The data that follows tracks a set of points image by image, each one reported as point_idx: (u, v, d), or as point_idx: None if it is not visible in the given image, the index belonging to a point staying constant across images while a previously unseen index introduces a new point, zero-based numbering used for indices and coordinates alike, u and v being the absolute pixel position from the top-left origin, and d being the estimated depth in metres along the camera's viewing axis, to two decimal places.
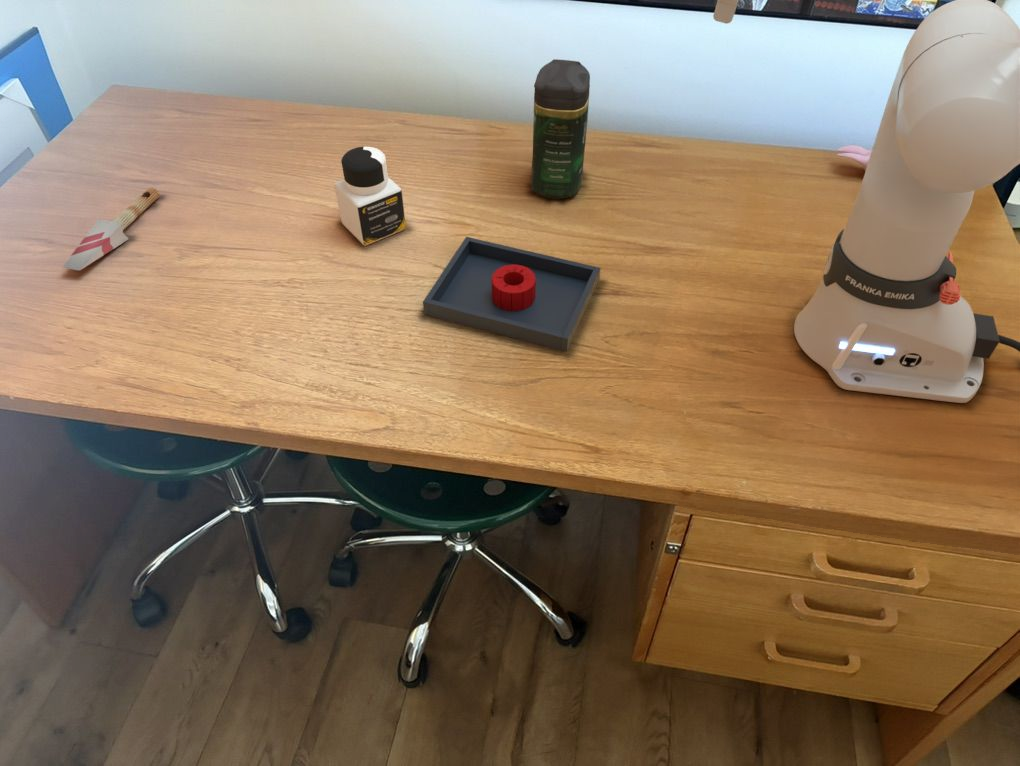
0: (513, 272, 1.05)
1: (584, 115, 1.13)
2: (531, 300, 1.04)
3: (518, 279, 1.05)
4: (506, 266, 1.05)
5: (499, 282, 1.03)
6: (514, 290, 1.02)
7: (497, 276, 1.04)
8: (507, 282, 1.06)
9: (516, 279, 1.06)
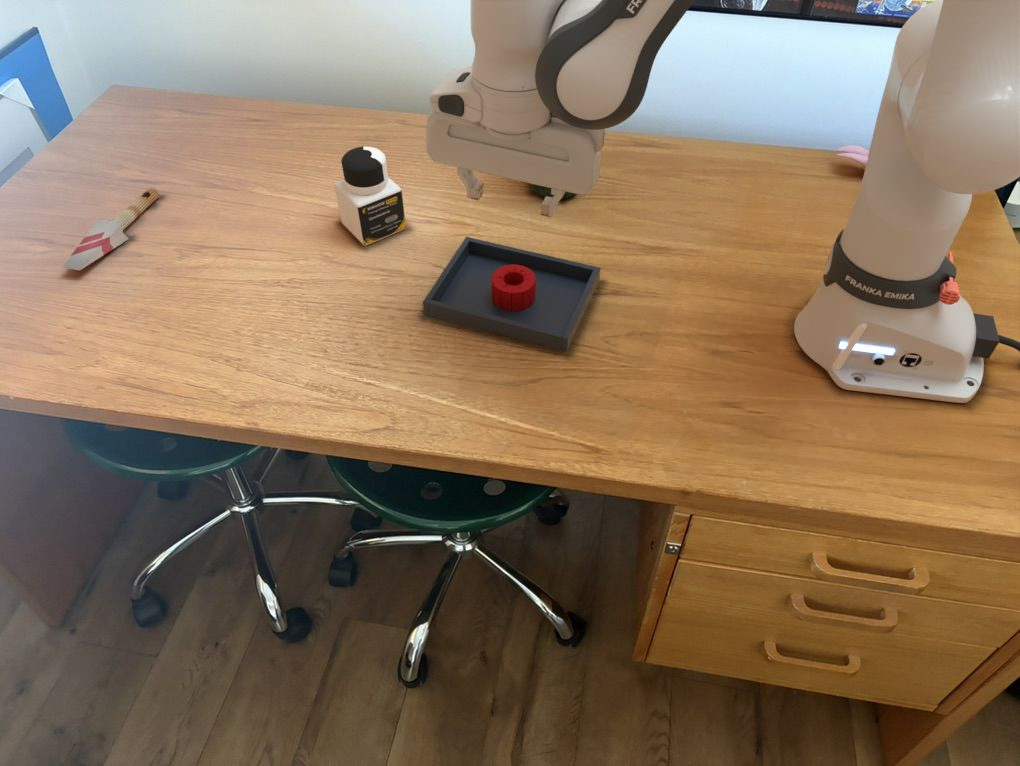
0: (513, 272, 1.05)
1: None
2: (531, 300, 1.04)
3: (518, 279, 1.05)
4: (506, 266, 1.05)
5: (499, 282, 1.03)
6: (514, 290, 1.02)
7: (497, 276, 1.04)
8: (507, 282, 1.06)
9: (516, 279, 1.06)
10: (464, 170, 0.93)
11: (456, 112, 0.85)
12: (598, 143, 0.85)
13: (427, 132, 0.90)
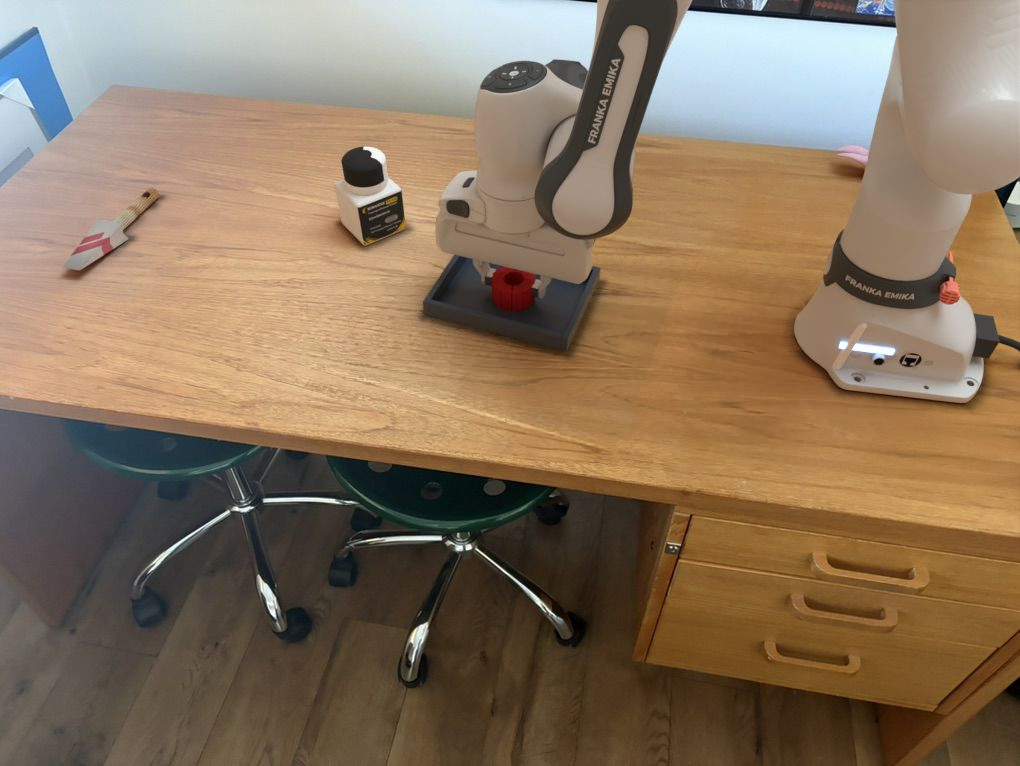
0: (513, 272, 1.05)
1: None
2: (531, 300, 1.04)
3: (518, 279, 1.05)
4: None
5: (499, 282, 1.03)
6: (514, 290, 1.02)
7: (497, 276, 1.04)
8: (507, 282, 1.06)
9: (516, 279, 1.06)
10: (479, 261, 1.02)
11: (462, 214, 0.95)
12: (590, 241, 0.95)
13: (436, 228, 0.99)
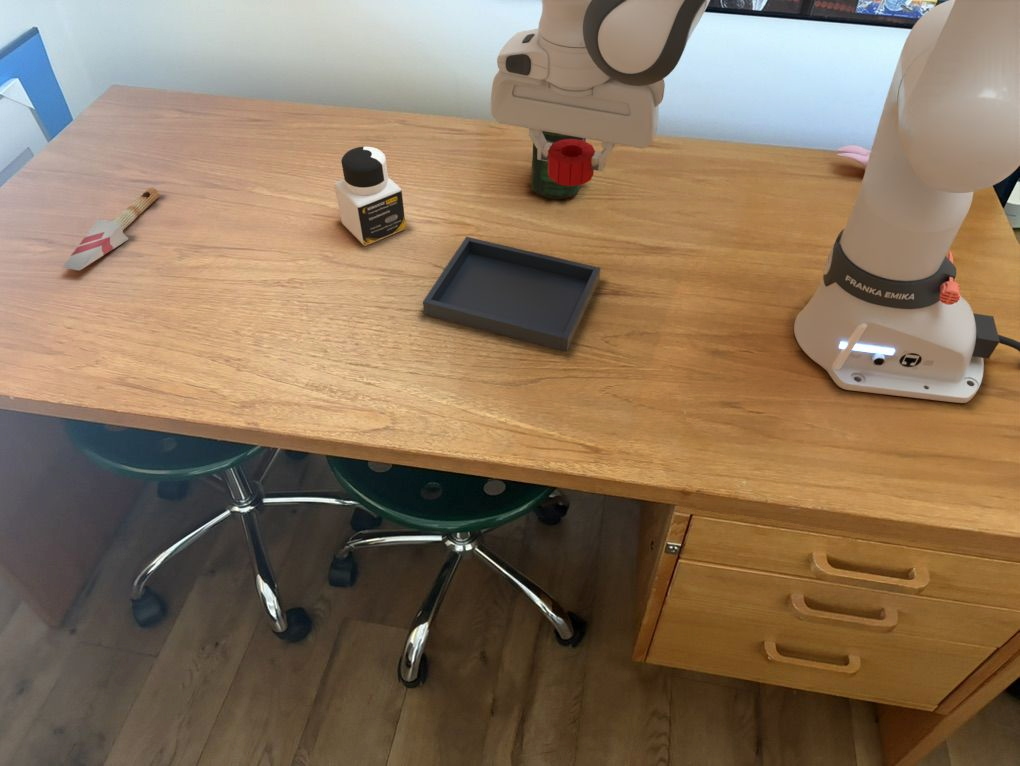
0: (570, 146, 1.00)
1: None
2: (590, 174, 1.00)
3: (575, 154, 1.01)
4: (562, 140, 1.01)
5: (557, 154, 0.98)
6: (573, 161, 0.97)
7: (554, 149, 0.99)
8: None
9: (573, 154, 1.01)
10: (536, 131, 0.98)
11: (523, 71, 0.90)
12: (658, 97, 0.90)
13: (492, 93, 0.95)
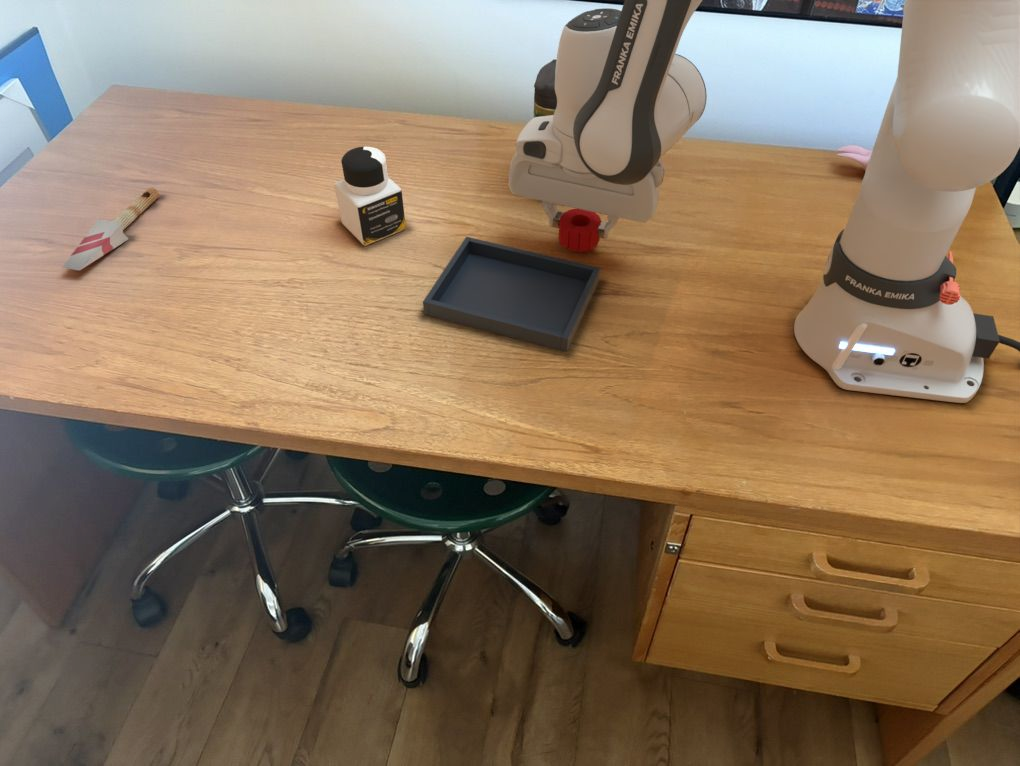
0: (579, 215, 1.11)
1: None
2: (596, 241, 1.11)
3: (583, 222, 1.12)
4: (572, 209, 1.12)
5: (567, 223, 1.10)
6: (582, 230, 1.09)
7: (564, 219, 1.10)
8: (573, 225, 1.12)
9: (582, 222, 1.12)
10: (548, 203, 1.09)
11: (538, 155, 1.01)
12: (658, 180, 1.01)
13: (510, 170, 1.06)
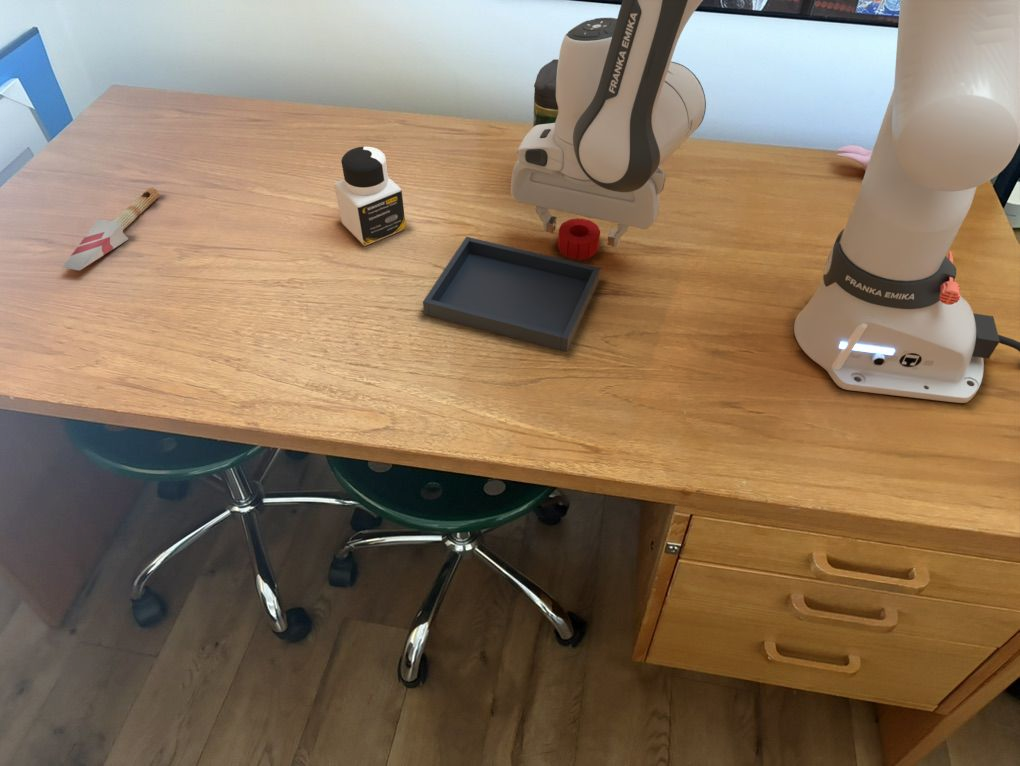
0: (578, 225, 1.13)
1: None
2: (595, 251, 1.12)
3: (583, 232, 1.13)
4: (571, 220, 1.13)
5: (566, 234, 1.11)
6: (581, 241, 1.10)
7: (564, 229, 1.12)
8: (572, 235, 1.13)
9: (581, 232, 1.13)
10: (542, 208, 1.10)
11: (540, 163, 1.02)
12: (659, 187, 1.02)
13: (513, 178, 1.07)
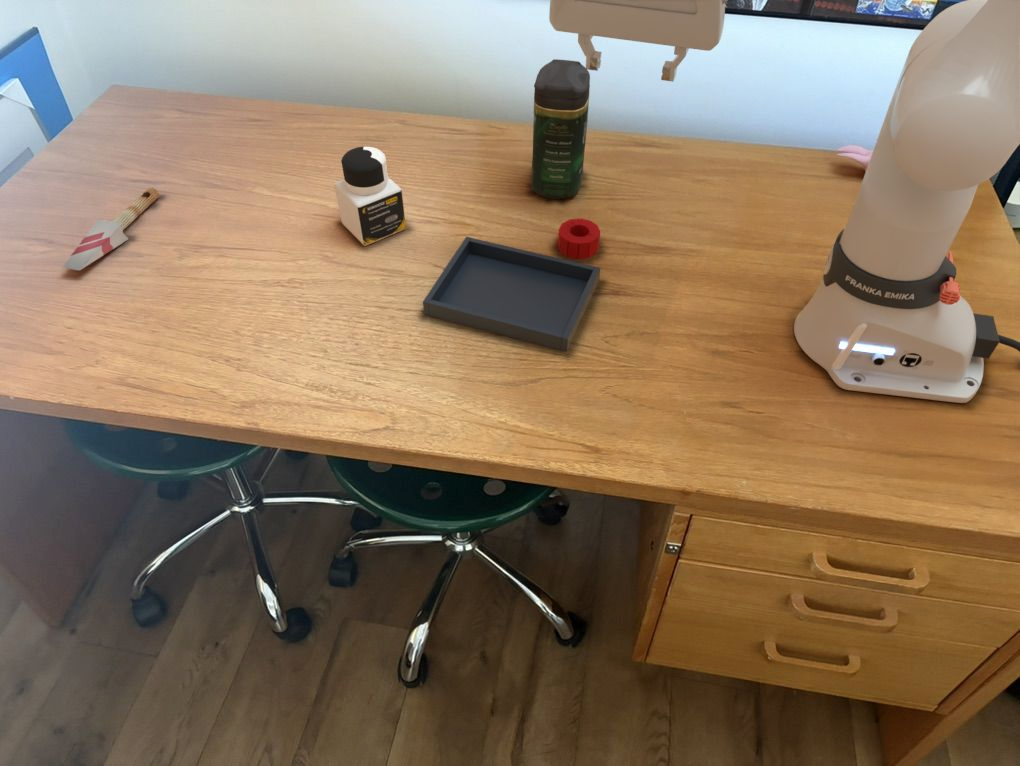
0: (578, 225, 1.13)
1: (584, 115, 1.13)
2: (595, 251, 1.12)
3: (583, 232, 1.13)
4: (571, 220, 1.13)
5: (566, 234, 1.11)
6: (581, 241, 1.10)
7: (564, 229, 1.12)
8: (572, 235, 1.13)
9: (581, 232, 1.13)
10: (585, 37, 0.95)
11: None
12: None
13: None
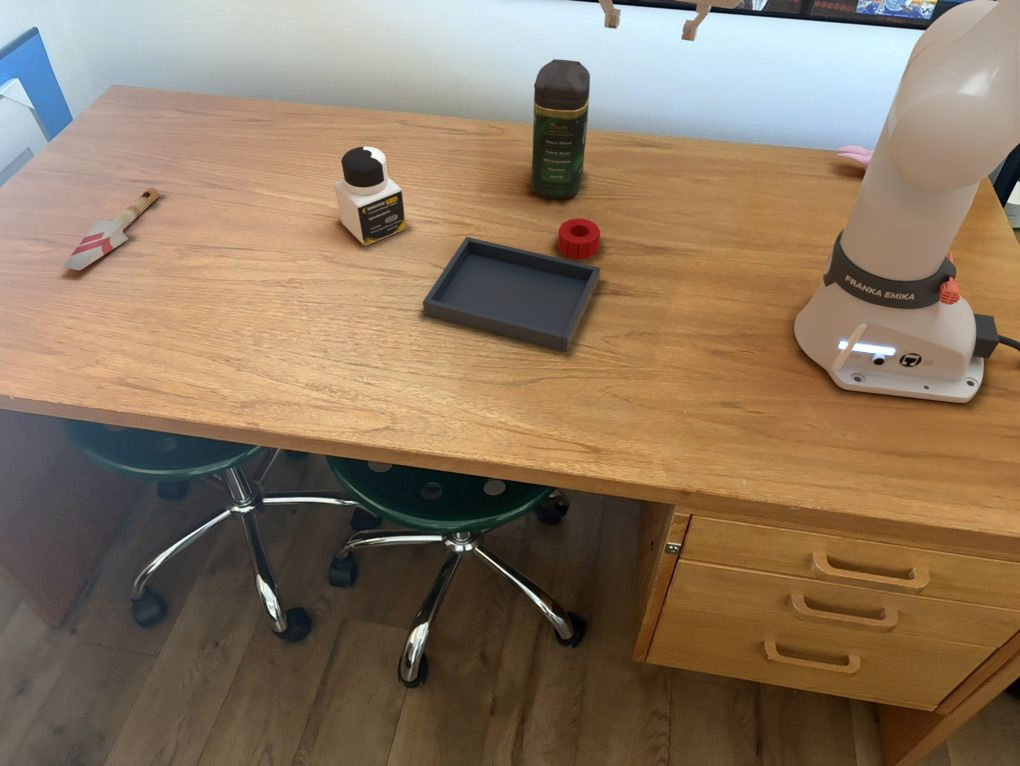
0: (578, 225, 1.13)
1: (584, 115, 1.13)
2: (595, 251, 1.12)
3: (583, 232, 1.13)
4: (571, 220, 1.13)
5: (566, 234, 1.11)
6: (581, 241, 1.10)
7: (564, 229, 1.12)
8: (572, 235, 1.13)
9: (581, 232, 1.13)
10: None
11: None
12: None
13: None
